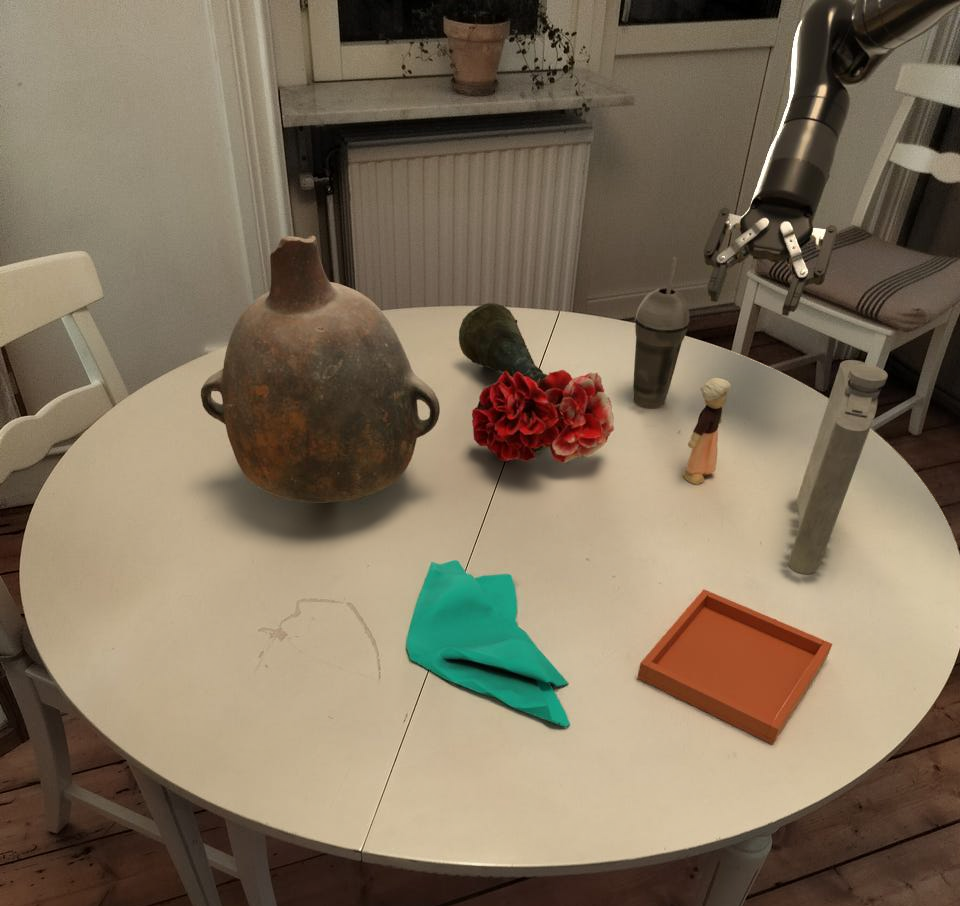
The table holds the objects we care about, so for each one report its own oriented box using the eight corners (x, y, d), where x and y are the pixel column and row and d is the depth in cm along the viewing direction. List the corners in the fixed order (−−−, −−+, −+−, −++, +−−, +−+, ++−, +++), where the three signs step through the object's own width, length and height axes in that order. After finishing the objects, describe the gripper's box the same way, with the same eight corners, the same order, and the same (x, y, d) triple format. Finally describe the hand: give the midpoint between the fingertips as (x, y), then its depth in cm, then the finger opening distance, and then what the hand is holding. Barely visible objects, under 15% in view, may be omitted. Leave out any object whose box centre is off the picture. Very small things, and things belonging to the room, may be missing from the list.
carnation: (478, 411, 134) (577, 525, 109) (386, 348, 123) (474, 459, 98) (541, 326, 129) (660, 425, 104) (452, 252, 118) (562, 343, 93)
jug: (397, 429, 115) (384, 184, 94) (456, 516, 101) (456, 249, 80) (212, 464, 108) (155, 208, 87) (247, 563, 93) (188, 284, 73)
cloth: (382, 573, 93) (380, 556, 91) (503, 553, 96) (504, 536, 94) (439, 755, 74) (439, 738, 73) (588, 724, 77) (590, 707, 76)
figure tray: (826, 659, 84) (832, 643, 83) (772, 744, 76) (778, 729, 75) (699, 603, 90) (703, 588, 88) (636, 678, 82) (640, 662, 80)
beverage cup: (668, 388, 125) (694, 244, 111) (680, 412, 119) (708, 265, 106) (618, 388, 124) (638, 244, 111) (628, 413, 119) (650, 265, 105)
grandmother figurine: (706, 491, 105) (728, 396, 96) (675, 484, 106) (695, 389, 98) (721, 461, 110) (743, 368, 102) (691, 454, 111) (711, 361, 103)
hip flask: (797, 494, 105) (848, 335, 91) (831, 500, 104) (888, 341, 91) (786, 570, 94) (843, 403, 80) (825, 578, 93) (888, 410, 79)
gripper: (734, 147, 100) (688, 279, 100) (860, 164, 96) (812, 302, 96) (735, 184, 107) (692, 308, 108) (853, 202, 103) (808, 331, 103)
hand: (749, 305), depth 102 cm, fingers open, 8 cm apart
